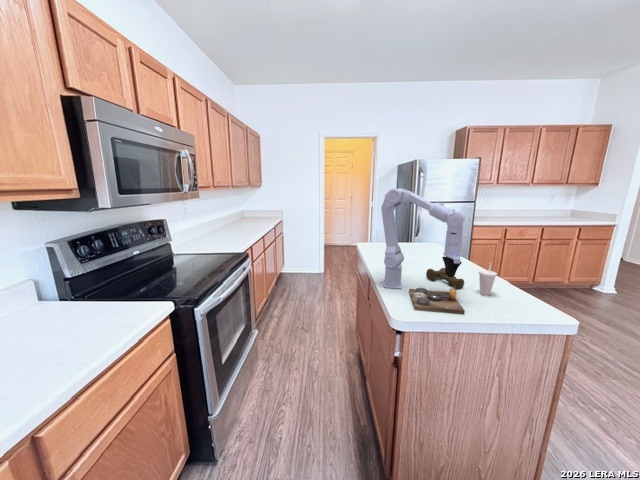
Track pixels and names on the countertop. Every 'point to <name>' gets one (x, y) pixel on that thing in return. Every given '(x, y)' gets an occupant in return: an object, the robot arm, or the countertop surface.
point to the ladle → (438, 297)
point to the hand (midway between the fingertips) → (449, 275)
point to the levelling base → (434, 302)
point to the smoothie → (486, 281)
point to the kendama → (444, 277)
